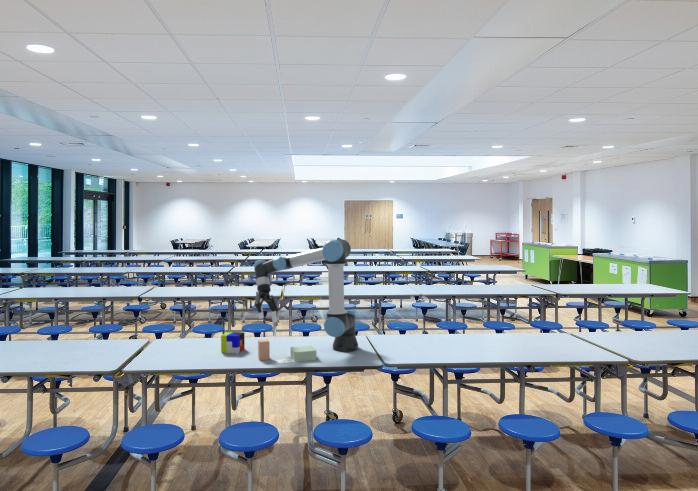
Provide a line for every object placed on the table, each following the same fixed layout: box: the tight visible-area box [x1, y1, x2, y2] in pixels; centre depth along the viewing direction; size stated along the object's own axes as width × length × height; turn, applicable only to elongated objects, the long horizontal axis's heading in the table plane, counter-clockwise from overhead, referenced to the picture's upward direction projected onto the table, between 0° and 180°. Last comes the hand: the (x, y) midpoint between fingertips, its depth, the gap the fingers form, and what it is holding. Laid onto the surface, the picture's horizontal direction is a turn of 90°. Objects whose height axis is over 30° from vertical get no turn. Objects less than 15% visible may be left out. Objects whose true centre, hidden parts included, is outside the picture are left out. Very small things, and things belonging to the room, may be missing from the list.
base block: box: [290, 345, 317, 362], centre depth 283 cm, size 12×12×5 cm
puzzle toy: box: [220, 331, 246, 354], centre depth 299 cm, size 10×10×10 cm
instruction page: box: [275, 357, 299, 365], centre depth 277 cm, size 10×7×1 cm
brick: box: [257, 338, 271, 361], centre depth 282 cm, size 6×6×10 cm
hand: (268, 320), depth 293 cm, fingers open, 13 cm apart
